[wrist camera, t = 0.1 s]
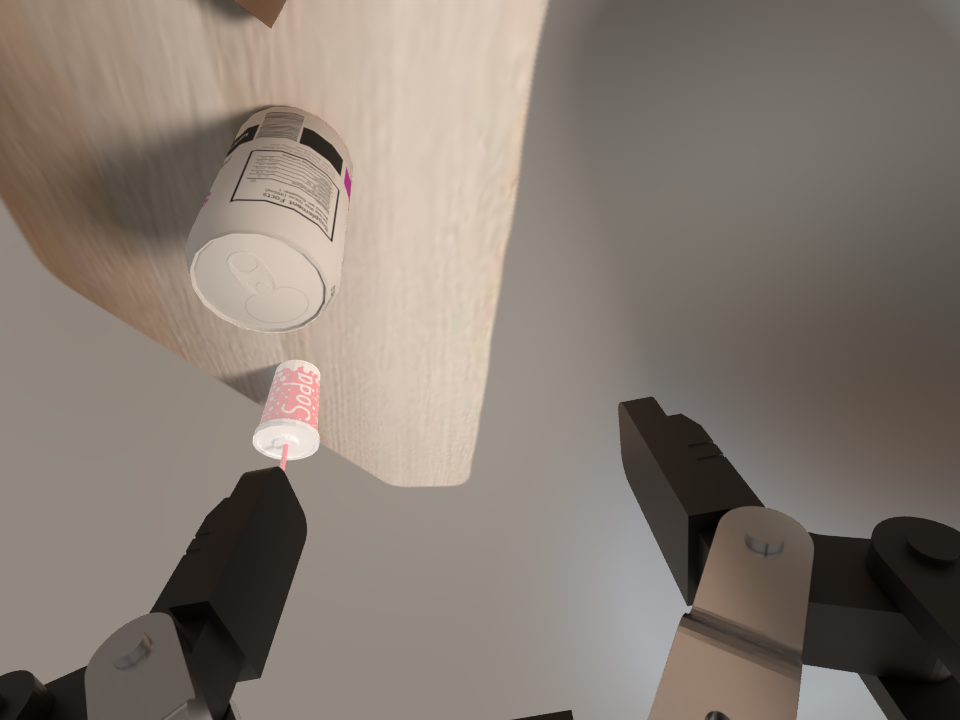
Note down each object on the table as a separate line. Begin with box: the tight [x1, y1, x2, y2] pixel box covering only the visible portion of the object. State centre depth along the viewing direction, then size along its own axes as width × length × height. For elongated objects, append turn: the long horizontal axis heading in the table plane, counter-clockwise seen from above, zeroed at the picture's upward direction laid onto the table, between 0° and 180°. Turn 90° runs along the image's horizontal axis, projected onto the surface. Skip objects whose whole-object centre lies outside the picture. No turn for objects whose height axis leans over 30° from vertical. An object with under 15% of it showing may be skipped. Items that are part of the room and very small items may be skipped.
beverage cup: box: [253, 360, 320, 471], centre depth 50 cm, size 6×6×14 cm
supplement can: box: [184, 107, 353, 333], centre depth 32 cm, size 8×8×15 cm
